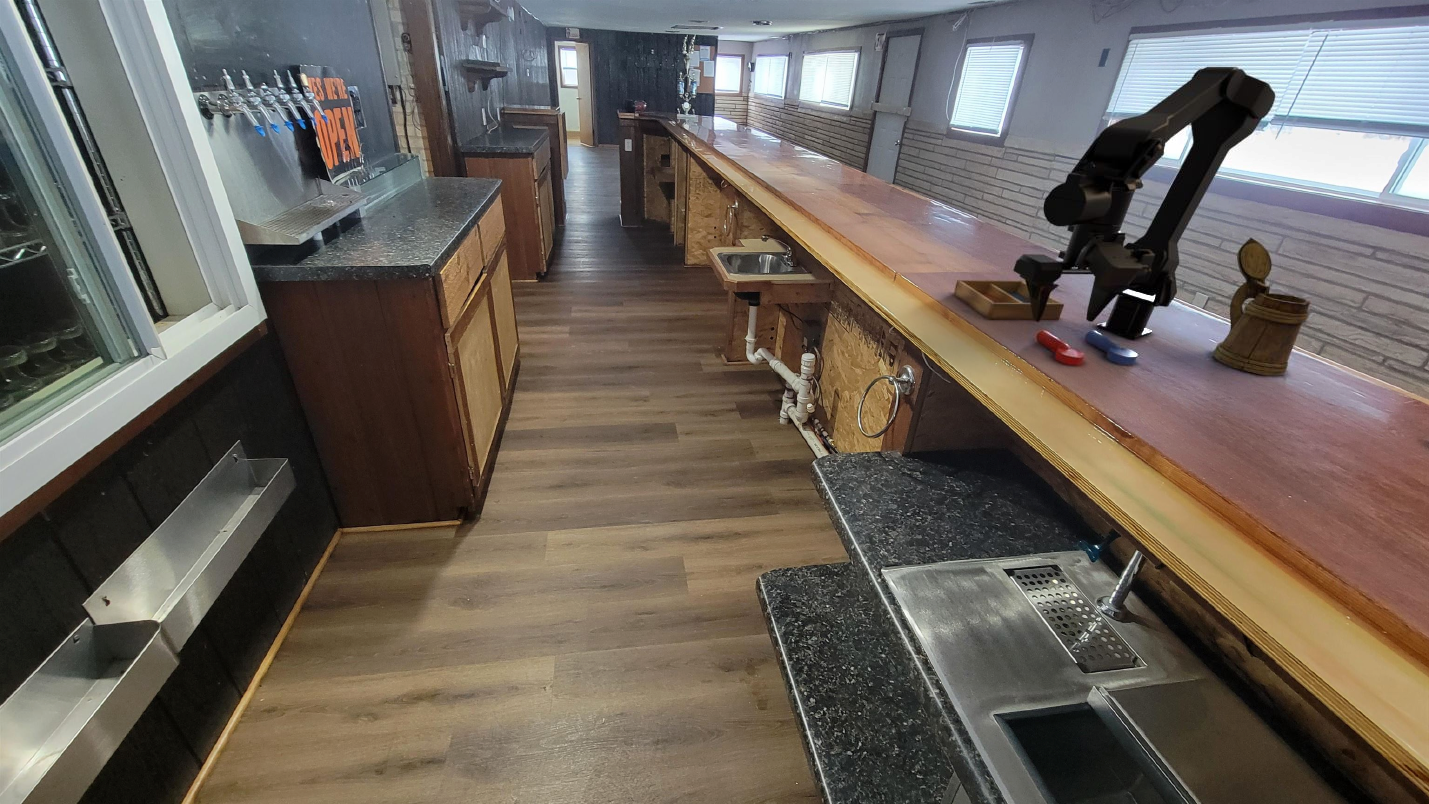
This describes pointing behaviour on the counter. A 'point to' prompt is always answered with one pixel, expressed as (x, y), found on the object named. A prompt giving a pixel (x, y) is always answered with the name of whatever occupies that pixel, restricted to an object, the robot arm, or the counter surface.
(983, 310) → the cutlery tray
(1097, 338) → the blue spoon
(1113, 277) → the robot arm
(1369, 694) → the counter surface
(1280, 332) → the wooden mug
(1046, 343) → the red spoon
